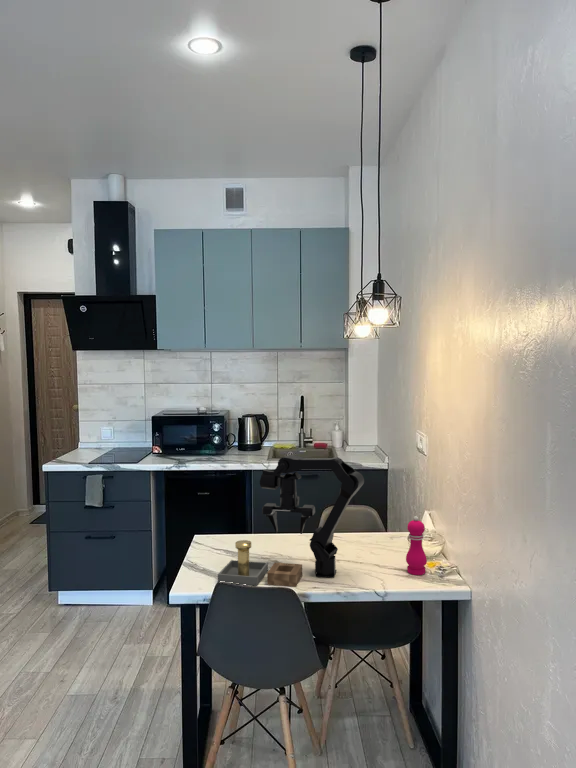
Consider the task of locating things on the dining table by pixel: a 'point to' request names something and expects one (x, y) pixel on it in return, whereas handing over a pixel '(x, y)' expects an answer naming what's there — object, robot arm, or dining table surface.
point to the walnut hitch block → (284, 574)
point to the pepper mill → (416, 548)
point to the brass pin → (243, 556)
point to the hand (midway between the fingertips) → (288, 533)
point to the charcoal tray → (255, 576)
